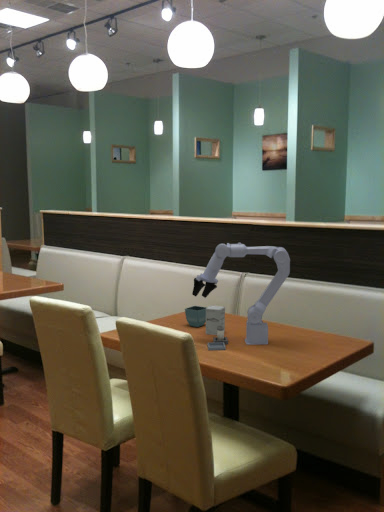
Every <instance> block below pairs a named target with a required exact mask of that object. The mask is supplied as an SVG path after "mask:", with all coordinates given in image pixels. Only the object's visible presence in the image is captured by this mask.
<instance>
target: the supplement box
mask: <svg viewBox="0 0 384 512" xmlns="http://www.w3.org/2000/svg"><path fill="white" fill-rule="evenodd" d="M206 307H207V308H206V322H205V335H212V336H217V327H218V326H224V333H225V330H226V329H225V328H226V326H225V325H226V324H225V323H226V320H225V319H226V318H225V317H226V313H225V312H226V306H222V305H221V306H219V305H208V306H206Z"/></svg>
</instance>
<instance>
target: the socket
mask: <svg viewBox="0 0 384 512" xmlns="http://www.w3.org/2000/svg"><path fill="white" fill-rule="evenodd" d="M212 340H213V342H212V343H217V342H224V344H225V346H226V345H229V340H228V337H227V336H224V340H217V336H213V339H212Z"/></svg>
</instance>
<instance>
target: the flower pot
mask: <svg viewBox="0 0 384 512" xmlns="http://www.w3.org/2000/svg"><path fill="white" fill-rule="evenodd" d="M207 307H208V306H201V305H200V306H199V305H198V306H197V305H194V306H193V305H192V306H190V307H186V308H184V314H185V319H186V321H187V323H188V326H190V327H196V328H199V327H202V326H204V325H206V308H207Z"/></svg>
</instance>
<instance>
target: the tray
mask: <svg viewBox="0 0 384 512" xmlns="http://www.w3.org/2000/svg"><path fill="white" fill-rule="evenodd" d="M206 346H207V349H208V351H227V347H226V345H225V344H224V342H217V343H214V342H207V345H206Z"/></svg>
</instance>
